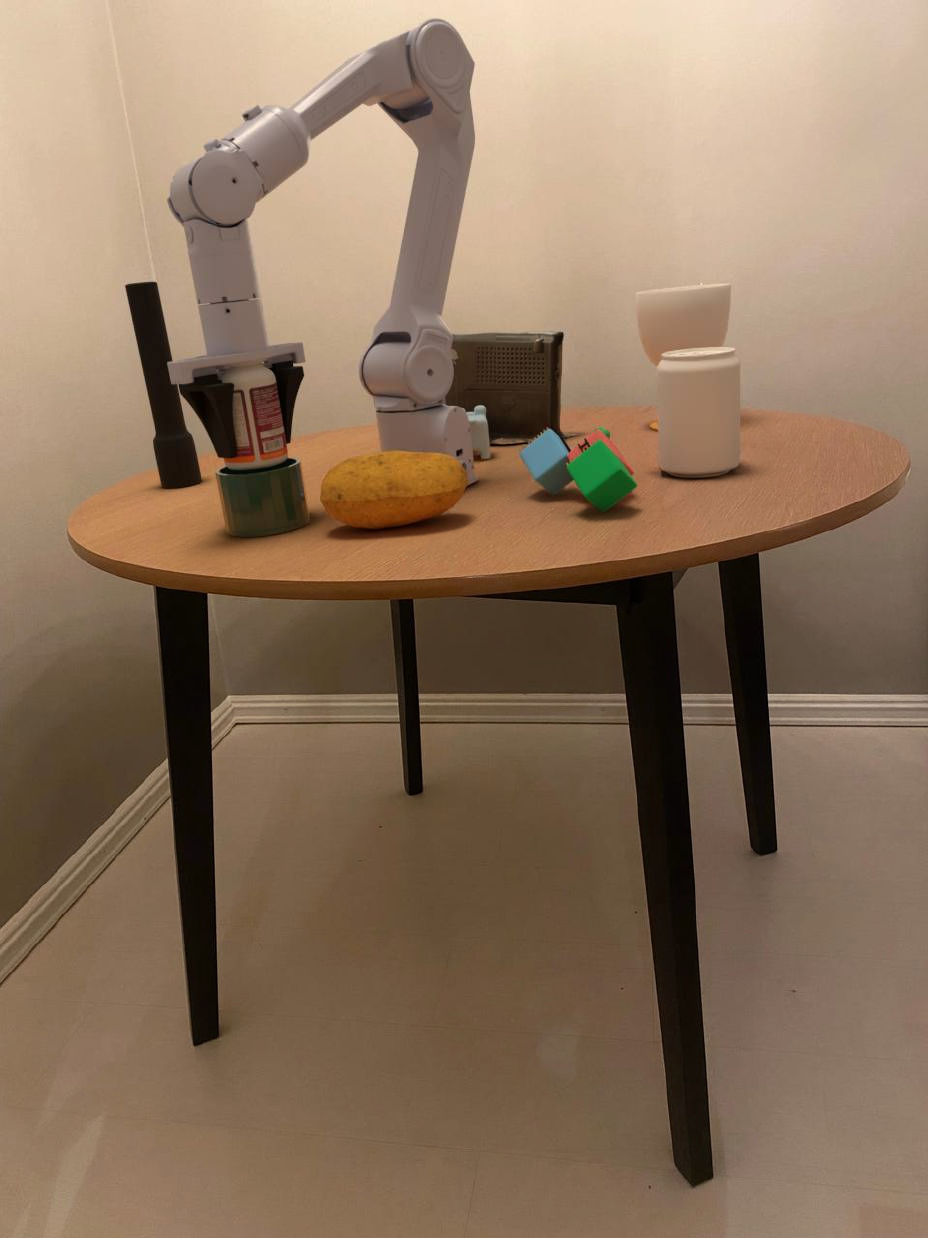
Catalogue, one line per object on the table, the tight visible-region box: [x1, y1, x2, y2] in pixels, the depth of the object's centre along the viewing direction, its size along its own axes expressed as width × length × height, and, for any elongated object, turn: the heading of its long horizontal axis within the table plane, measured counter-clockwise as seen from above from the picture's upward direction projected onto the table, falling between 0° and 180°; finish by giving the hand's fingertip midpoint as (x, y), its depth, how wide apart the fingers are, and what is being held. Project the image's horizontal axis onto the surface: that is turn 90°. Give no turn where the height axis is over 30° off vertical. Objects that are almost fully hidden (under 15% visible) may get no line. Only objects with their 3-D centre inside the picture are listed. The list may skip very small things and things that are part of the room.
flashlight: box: [124, 281, 203, 489], centre depth 115 cm, size 5×24×5 cm
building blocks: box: [518, 426, 638, 513], centre depth 89 cm, size 8×8×12 cm
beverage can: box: [656, 346, 741, 479], centre depth 95 cm, size 8×8×12 cm
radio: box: [445, 330, 579, 445], centre depth 124 cm, size 23×9×15 cm, turn 60°
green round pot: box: [214, 456, 311, 538], centre depth 92 cm, size 8×8×6 cm
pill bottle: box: [217, 359, 289, 470], centre depth 89 cm, size 6×6×11 cm
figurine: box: [462, 406, 491, 460], centre depth 116 cm, size 4×8×6 cm, turn 4°
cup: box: [634, 283, 732, 431], centre depth 121 cm, size 12×12×17 cm
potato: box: [319, 450, 468, 530], centre depth 87 cm, size 8×14×7 cm, turn 89°
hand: (255, 450), depth 90 cm, fingers closed on pill bottle, 6 cm apart
